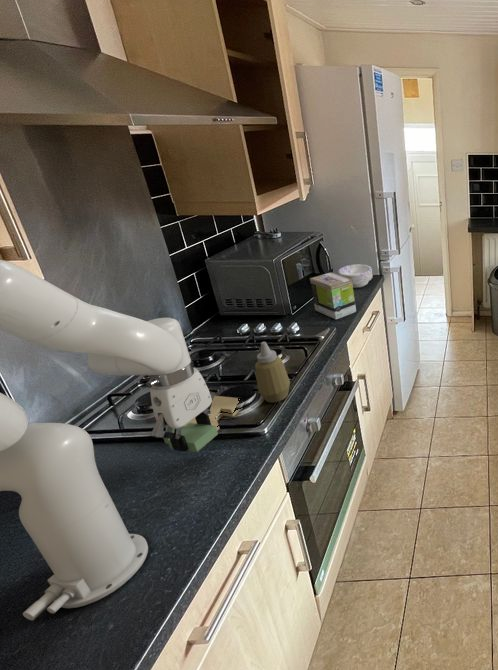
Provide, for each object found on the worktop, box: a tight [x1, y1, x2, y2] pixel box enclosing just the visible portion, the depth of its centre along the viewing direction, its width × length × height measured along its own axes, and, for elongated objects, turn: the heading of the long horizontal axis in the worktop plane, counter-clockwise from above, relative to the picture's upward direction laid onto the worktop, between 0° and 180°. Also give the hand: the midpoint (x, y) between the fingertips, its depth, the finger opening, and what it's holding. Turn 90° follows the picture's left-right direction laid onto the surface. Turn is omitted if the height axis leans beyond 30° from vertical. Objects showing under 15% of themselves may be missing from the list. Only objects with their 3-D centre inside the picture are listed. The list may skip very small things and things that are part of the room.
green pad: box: [162, 423, 219, 453], centre depth 97 cm, size 6×10×2 cm, turn 82°
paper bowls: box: [337, 263, 374, 289], centre depth 199 cm, size 15×15×8 cm
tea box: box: [309, 271, 357, 320], centre depth 170 cm, size 15×10×15 cm
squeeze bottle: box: [254, 341, 291, 404], centre depth 117 cm, size 8×8×18 cm
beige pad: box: [184, 395, 244, 432], centre depth 110 cm, size 14×10×2 cm
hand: (194, 439), depth 97 cm, fingers closed on green pad, 6 cm apart
